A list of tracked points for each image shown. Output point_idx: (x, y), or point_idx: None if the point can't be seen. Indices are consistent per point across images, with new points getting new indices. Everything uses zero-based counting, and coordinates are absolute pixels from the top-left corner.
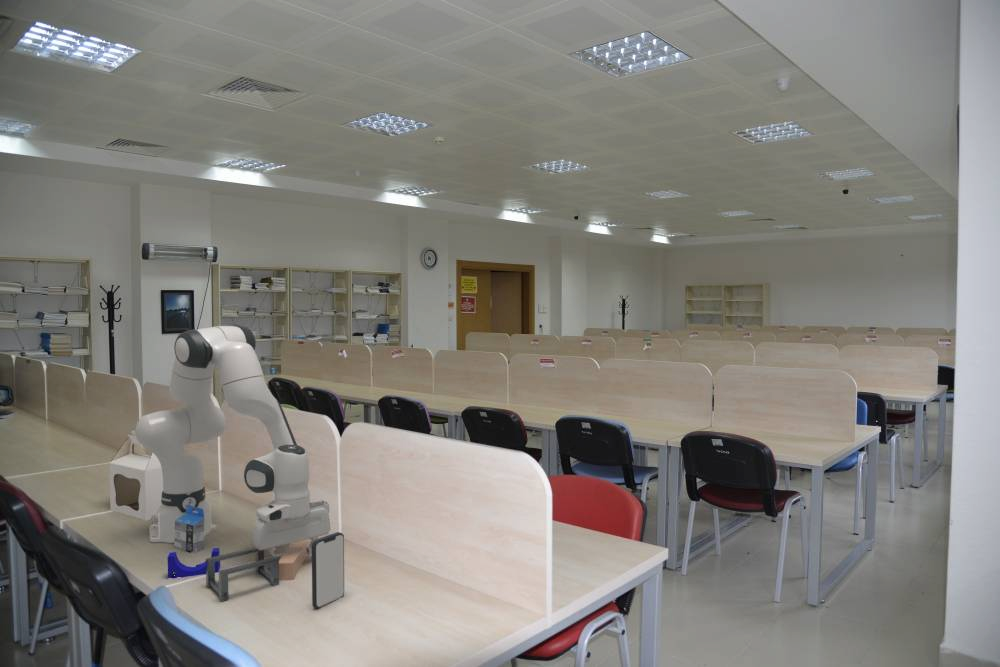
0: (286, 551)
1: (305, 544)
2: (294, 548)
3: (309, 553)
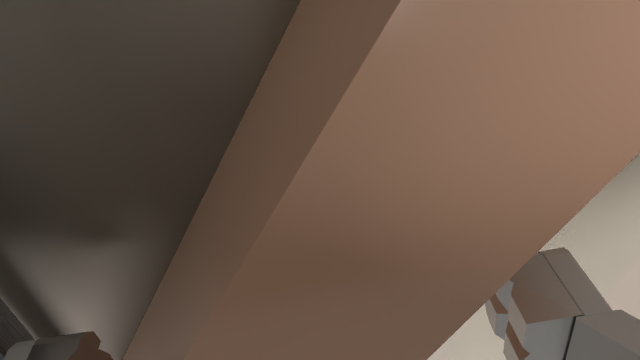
0: (206, 342)
1: (603, 177)
2: (355, 285)
3: (494, 323)
